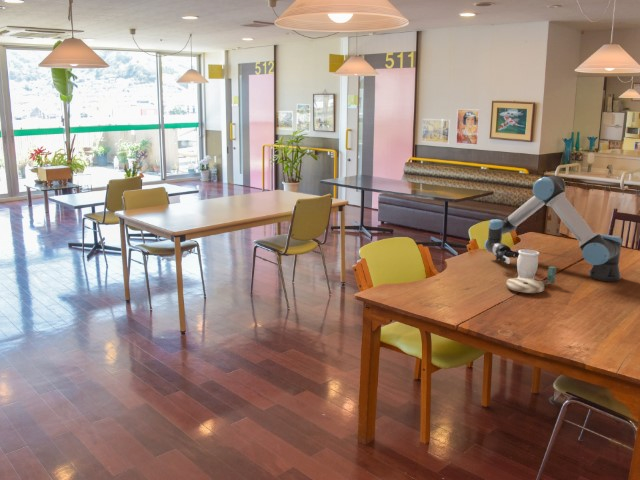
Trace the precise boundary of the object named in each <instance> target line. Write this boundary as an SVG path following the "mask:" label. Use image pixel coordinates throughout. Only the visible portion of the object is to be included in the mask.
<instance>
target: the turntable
mask: <svg viewBox="0 0 640 480" xmlns="http://www.w3.org/2000/svg"><path fill="white" fill-rule="evenodd" d="M547 268H548V269H547V277H546V279H545V280H544V279H543V280H537V279H534V280H533V279H528V278H518V277H512V278H508V279H507V280H506V283H505V287H506V288H508V289H509V290H511V291H514V292H519V293H524V294H536V293H537V294H539V293H542V292H543V291H545V285H551V284H555V282H556V273H557V267H555V266H548V267H547Z"/></svg>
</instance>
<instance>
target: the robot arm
mask: <svg viewBox="0 0 640 480" xmlns="http://www.w3.org/2000/svg"><path fill="white" fill-rule="evenodd" d="M565 189H566V182H565V181H564V179H563V178H562V177H561V176H559V175H550V176H549V175H548V176H543V177H541V178H538V179H537V180H535V182H534V184H533V186H532V193H533V196H532V197H530V198H529V199H528V200H526V201H525V202H524V203H523V204H522V205H520V206H519V208H517V209H516V210H515V211H513V212H512V213H510V215H509V216H506V218H505V219H504V220H501V219H498V218H495V219H490V221H489V225H488V237H487V239H486V240H485V242H484V248H485V250H486V251H488V252H489V253H491V254H494V257H495V259H496V261H499V262H504V263H505V264H508V265H509V264H510V263H511V262H510V261H511V259H510V258H514V259H516V258H517V259H518V256H519V253H518V251H519V250H512V248H511V247H509V246H508V245H506V244H504V243H502V238H503V235H505V234H509V233H512V232H513V231H515V229H516V228H517V227H518V226H519V225H520V224H521V223H523V222H525V221H526V220H527V219H528V218H529V217H530V216H532V215H534V214H535V213H536V212H537V211H538V210H540V209H541V208H542V207H543V206H544V205H545V206H547V207H551V208H552V210H553V211H554V212H555V214H557V216H558V217H559V218H560V220H561V221H562V222H563V224H564V225H565V226H566V227H567V229H568V230H569V231H570V232H571V233H572V235H573V236H574V237H575V238H576V240H577V241H578V242H579V245H578V247H579V248H580V250H581V251H582V257H583V260H585V262H587V263H588V264H590V265H592V266H591V268H590V271H589V273H588V275H589V278H591V279H593V280H597V281H600V282H601V281H603V282H611V283H612V282H619V281H620V280H621V271H620V266H619V264H620V257H621V249H622V245H623V243H622V241H623V240H622V237H620V236H616V235H609V234H602V233H597V232H594V231H593V230H592V228H591V227H590V226H589V225H588V223H587V222H586V220H585V219H584V218H583V217H582V216H581V214H580V213H579V212H578V210H577V209H576V208H575V207H574V205H572V203H571V202H570V201H569V200H568V199H567V197H566V191H565Z"/></svg>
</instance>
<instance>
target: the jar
mask: <svg viewBox="0 0 640 480" xmlns="http://www.w3.org/2000/svg"><path fill="white" fill-rule="evenodd" d="M517 251H518V253H519V256H518V258H517V261H516V267H517V268H516V269H517V275H518V276H517V278H528V279H533V280H535V277H536V273H537V270H538V266H539V257H538V256H539V255H540V252H539V251H537V250H533V249H528V248H527V249H523V248H522V249H519V250H517Z"/></svg>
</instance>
